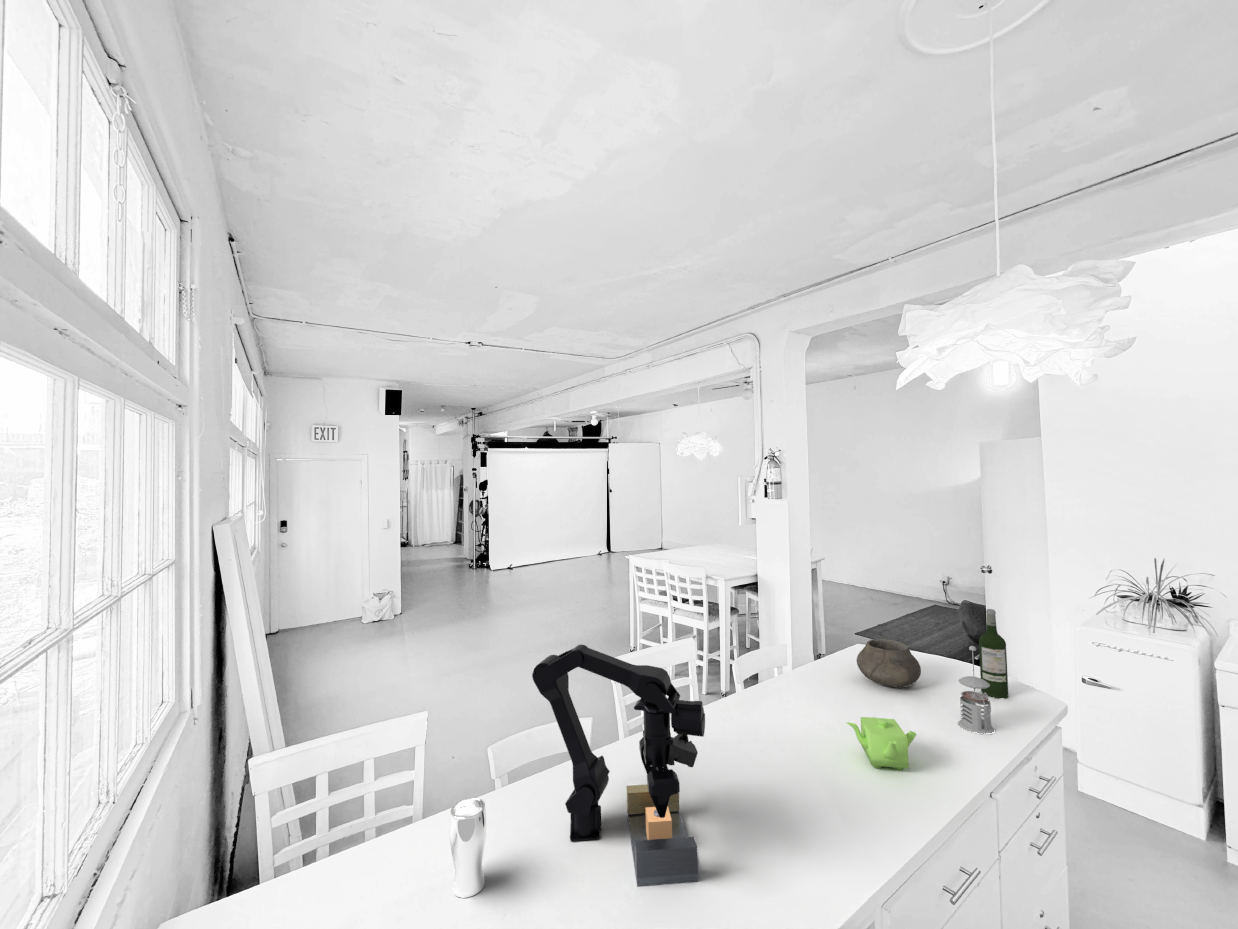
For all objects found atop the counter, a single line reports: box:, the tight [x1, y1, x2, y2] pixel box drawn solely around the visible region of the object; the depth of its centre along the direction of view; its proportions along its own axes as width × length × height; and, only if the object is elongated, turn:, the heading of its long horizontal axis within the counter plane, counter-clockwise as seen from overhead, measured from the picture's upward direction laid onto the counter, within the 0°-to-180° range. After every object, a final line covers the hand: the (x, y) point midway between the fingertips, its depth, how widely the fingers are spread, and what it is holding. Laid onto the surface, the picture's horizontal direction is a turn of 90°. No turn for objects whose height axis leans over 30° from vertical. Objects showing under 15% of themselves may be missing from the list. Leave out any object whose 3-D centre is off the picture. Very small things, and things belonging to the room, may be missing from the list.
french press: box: [957, 645, 995, 735], centre depth 161 cm, size 10×12×25 cm
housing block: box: [646, 807, 672, 840], centre depth 112 cm, size 5×5×5 cm
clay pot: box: [856, 638, 922, 688], centre depth 197 cm, size 22×21×15 cm
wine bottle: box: [978, 608, 1009, 699], centre depth 185 cm, size 8×8×30 cm
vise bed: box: [626, 810, 699, 887], centre depth 112 cm, size 12×22×7 cm, turn 4°
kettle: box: [846, 716, 918, 771], centre depth 143 cm, size 15×14×11 cm
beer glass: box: [449, 797, 487, 899], centre depth 101 cm, size 7×7×15 cm
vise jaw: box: [626, 783, 680, 814], centre depth 121 cm, size 12×3×5 cm, turn 94°
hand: (658, 803), depth 112 cm, fingers open, 9 cm apart
